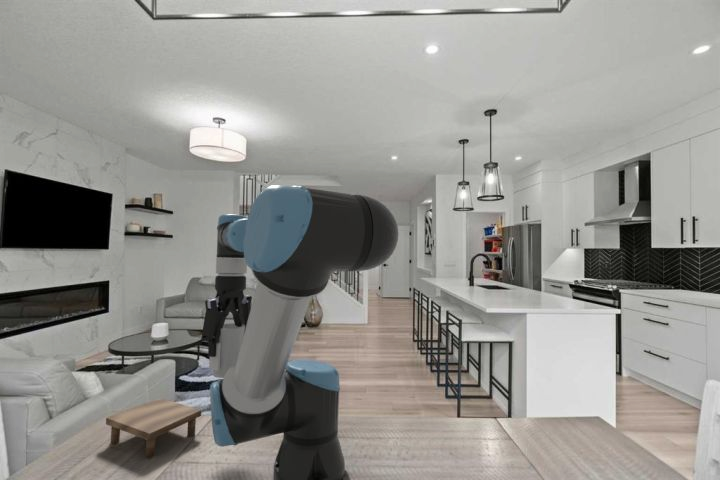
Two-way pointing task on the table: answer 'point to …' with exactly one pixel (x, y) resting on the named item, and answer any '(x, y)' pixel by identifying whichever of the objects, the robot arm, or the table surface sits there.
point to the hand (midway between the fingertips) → (226, 365)
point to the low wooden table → (153, 421)
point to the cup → (229, 347)
